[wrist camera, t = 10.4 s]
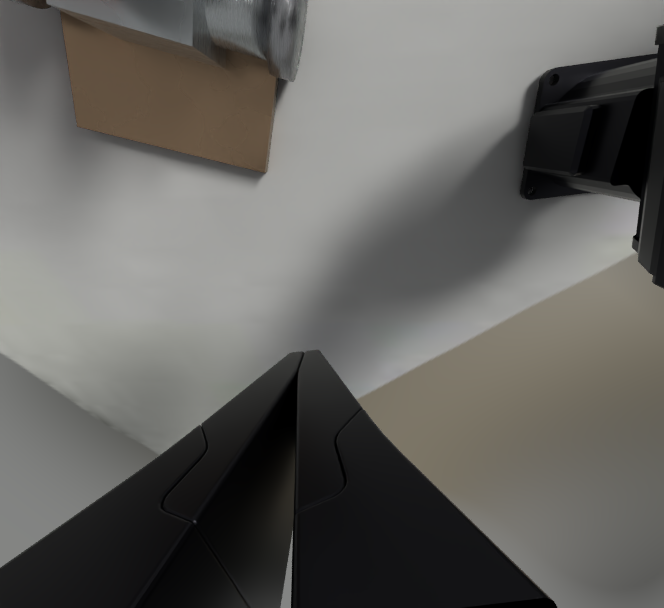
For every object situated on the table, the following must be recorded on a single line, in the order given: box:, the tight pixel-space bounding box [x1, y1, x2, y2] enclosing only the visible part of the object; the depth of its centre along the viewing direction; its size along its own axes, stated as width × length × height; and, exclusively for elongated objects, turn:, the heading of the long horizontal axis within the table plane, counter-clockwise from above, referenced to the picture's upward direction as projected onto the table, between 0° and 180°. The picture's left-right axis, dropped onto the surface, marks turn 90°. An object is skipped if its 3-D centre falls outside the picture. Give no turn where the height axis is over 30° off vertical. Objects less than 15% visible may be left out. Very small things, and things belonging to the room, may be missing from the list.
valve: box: [11, 0, 308, 173], centre depth 12 cm, size 12×9×7 cm
